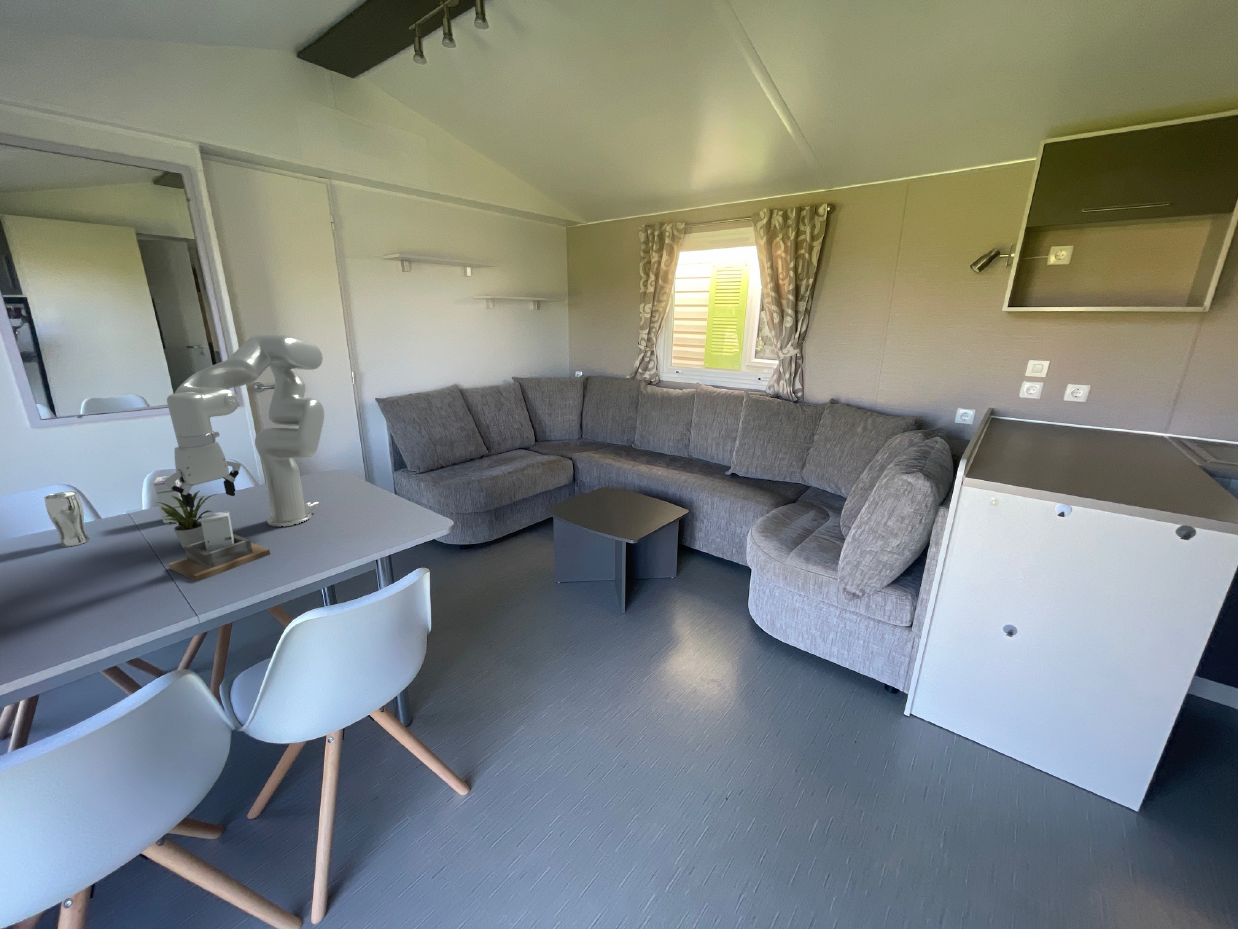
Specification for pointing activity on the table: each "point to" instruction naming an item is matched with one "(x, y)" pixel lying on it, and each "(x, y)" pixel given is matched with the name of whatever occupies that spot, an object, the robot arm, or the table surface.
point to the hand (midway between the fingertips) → (211, 500)
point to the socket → (217, 558)
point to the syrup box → (167, 497)
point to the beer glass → (67, 517)
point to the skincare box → (217, 530)
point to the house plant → (187, 521)
